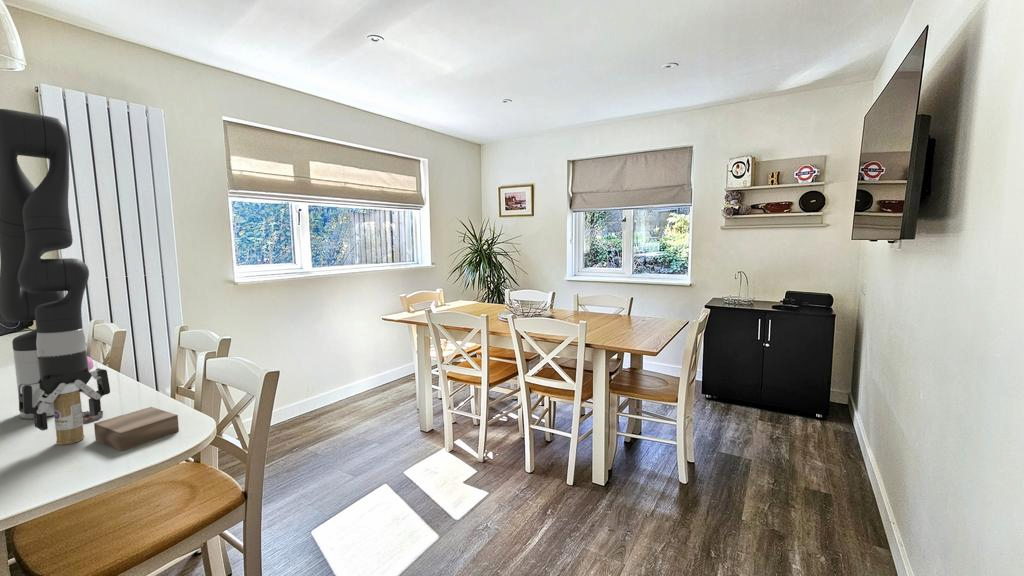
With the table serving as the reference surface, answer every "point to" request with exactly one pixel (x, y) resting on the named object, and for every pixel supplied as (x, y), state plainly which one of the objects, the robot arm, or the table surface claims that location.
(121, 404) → the table surface
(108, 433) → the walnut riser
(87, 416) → the donut
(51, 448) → the table surface
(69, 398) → the sprinkles bottle
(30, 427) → the table surface
